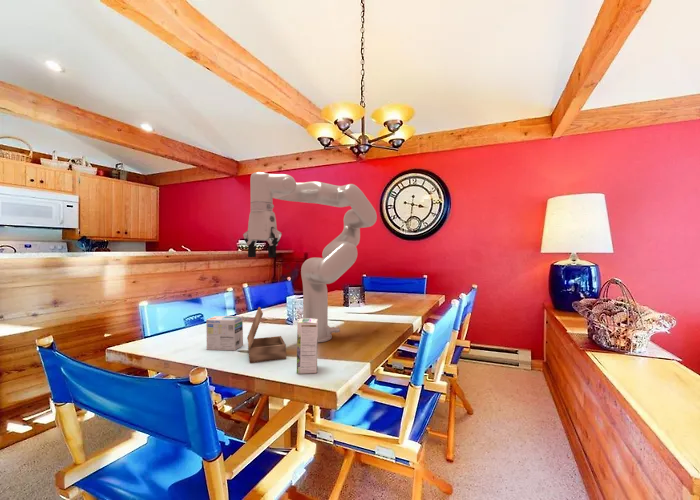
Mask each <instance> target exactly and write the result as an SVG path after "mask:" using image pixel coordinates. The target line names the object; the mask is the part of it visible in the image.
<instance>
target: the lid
mask: <svg viewBox="0 0 700 500" xmlns="http://www.w3.org/2000/svg"><path fill="white" fill-rule="evenodd" d="M263 314H264V312H263V310H262V308H261V307H260V306H258V308H257V311H256V313H255V316H254V319H253V321H252V323H251V327H250V329H249V332H248V335H247V339H246V340H247V346H248V345H249V348H250V347H251V345H252V343H253V340H254V339H255V336H256V334H257V331H258V329H259V326H260V323H261V321H262V317H263Z"/></svg>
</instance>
